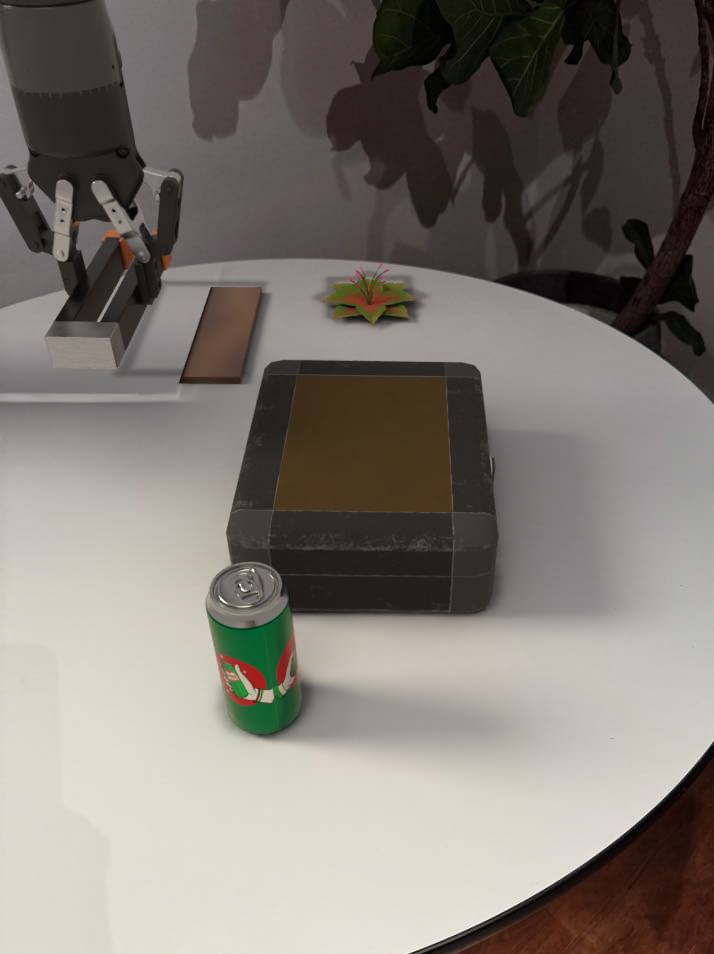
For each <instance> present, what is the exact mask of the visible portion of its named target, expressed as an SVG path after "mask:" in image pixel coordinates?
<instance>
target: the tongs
mask: <svg viewBox="0 0 714 954" xmlns="http://www.w3.org/2000/svg"><path fill="white" fill-rule="evenodd" d="M151 232H152V234H153V235H154V234H157V230H151ZM100 242H101V245H100V246H99V247H98V250H97V251H96V253H95V254H94V256H93V257H92V259H91V260H90V263H89V264H88V265H87V266H86V270H85V272H84V274H83V275H82V277H81V278H80V280H79V282H78V283H77V285H76V286H75V288H74V290H73V291H72V293H71V295H70V296H69V295H68V298H67V300H66V301H65V302H64V303H63V306H62V308H61V309H60V310H59V312H58V314H57V315H56V317H55V319H54V320H53V322H52V324H51V326H50V327H49V329H48V330H47V332H46V333H45V335H44V341H45V344H46V349H47V352H48V355H49V358H50V362H51V366H52V368H53V369H93V370H95V369H97V370H99V369H100V370H118V369H119V366H120V364H121V362H122V360H123V358H124V356H125V354H126V351H127V349H128V348H129V346H130V343H131V342H132V339H133V337H134V335H135V333H136V330H137V328H138V327H139V325H140V322H141V320H142V318H143V315H144V314H145V312H146V310H147V307H148V305H143V303H142V299H141V294H140V289H139V285H138V282H137V278H136V273H135V268H134V262H135V260H136V258H135V256H134V255H133V253H132V251H131V249H130V247H129V246H128V244H127V242H126V240H125V239H124V238H121V237H120V235H119V234H118V232H117V230H116V229H108V230H107V231H106V232H105V234H104V236H103V237H102V239H101V240H100ZM172 257H173V256H172V252H171V253H170V255H168V256H163V255H160V256H157V260H158V266H159V271H160V276H161V277H162V276H163V273H164V271H167V270H168V268H169V265H170V264H171V262H172V259H173V258H172ZM125 271H126V272H125ZM124 273H125V275H124ZM123 275H124V277H123V279H122V280H121V278H122V276H123ZM120 281H121V282H120ZM119 282H120V284H119V286H118V288H117V285H118V283H119ZM116 288H117V289H116ZM115 289H116V291H115ZM114 291H115V293H114ZM113 293H114V295H113ZM112 295H113V297H112ZM111 297H112V298H111ZM110 298H111V301H110ZM109 301H110V303H109V305H108V306H107V304H108V302H109ZM106 306H107V308H106ZM105 308H106V310H105V312H104V314H103V315H102V313H103V311H104V309H105ZM101 315H102V317H101ZM100 317H101V319H100ZM99 319H100V321H98V320H99Z"/></svg>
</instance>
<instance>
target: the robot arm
mask: <svg viewBox="0 0 714 954" xmlns="http://www.w3.org/2000/svg"><path fill="white" fill-rule="evenodd" d="M0 53H1V57H2V60H3V61H2V62H3V64H4V68H5V72H6V75H7V79H8V83H9V87H10V90H11V95H12V99H13V101H14V105H15V109H16V113H17V115H18V120H19V124H20V127H21V132H22V135H23V140H24V142H25V145H26V147H27V149H28V150H27V151H28V161H27V164H26V165H21V166H16V165H14V164H8V165H6V166H5V167H4V168H2V170H1V171H0V200H1V201H2V202H3V204H4V207H5V208H6V210H7V212H8V215H10V218H11V219H12V221H13V223H14V224H15V226H16V228H17V230H18V232H19V234H20V235H21V237H22V239H23V241H24V243H25V245H26V246H27V248H28V250H29V251H30V252H32V253H35V254H40V253H45V254H48V255H50V256H52V257H54V259H55V260H56V262H57V265H58V268H59V272H60V276H61V279H62V280H61V281H62V283H63V288H64V291H65V292H66V294H67V296H68V297H69V296H70V295H71V293H72V291H73V290H74V288H75V286H76V285H77V283H78V282H79V280H80V278H81V277H82V275H83V274H84V272H85V270H86V269H87V267H86V264H85V261H84V256H83V253H82V250H81V249H77V246H78V240H79V231H80V224H81V222H84V223H85V222H88V221H92V220H97V221H100V222H104V223H112V226H113V227H114V228H115V229H114V230H117V232H118V234H119V235H120V237H121V238H124V239H125V240H126V242H127V244H128V246H129V247H130V249H131V251H132V253H133V255H134V258H136V260H135V262H134V268H135V273H136V278H137V282H138V285H139V289H140V294H141V299H142V303H143V305H147V306H153V304H154V302H155V300H156V299H158V297H159V295H160V292H161V290H162V286H163V282H162V276H160V271H159V266H158V260H157V256H160V255H163V256H168V255H170V253H171V254H172V252H173V250H174V246H175V244H176V243H177V241H178V239H179V231H180V221H181V211H182V200H183V190H184V181H185V180H184V179H185V177H184V173H183V172H182V171H181V170H180V169H179V168H176V167H174V168H173V167H172V168H170V169H169V170H168V171H165V170H162V169H158V168H154V167H151V166H147V164H146V162H145V160H144V159H143V157H142V155H140V152H139V150H138V148H137V145H136V138H135V132H134V128H133V123H132V117H131V112H130V107H129V101H128V95H127V90H126V85H125V80H124V74H123V61H122V60H123V59H122V55H121V51H120V49H119V47H118V42H117V37H116V33H115V28H114V25H113V21H112V19H111V15H110V12H109V9H108V5H107V2H106V0H0ZM34 184H35V185H36V187H38V189H40V191H41V192H42V193H43V194H45V195H46V197H47V198H48V199H49V200H50V201H51V202H52V203H53V205H54V214H53V215H54V216H53V223H52V224H53V225H52V229H51V227H50V225H49V223H48V220H47V219H46V217H45V215H44V214H43V211H42V210H41V208H40V206H39V203H38V201H37V200H36V198H35V196H34V193H35V185H34ZM143 184H145V185H146V186H147V187H148V188H149V190H150V196H151V198H152V199H153V200H154V201H155V202H158V203H159V204H158V217H157V230H156V231H157V234H154V235H153V234H152V232H151V231H152V230H151V228H150V226H149V225H148V223H147V221H146V215H145V213H144V211H143V208H142V207H141V205H140V203H139V201H138V199H137V197H136V196H137V195H138V193H139V191H140V189H141V188H142V185H143Z"/></svg>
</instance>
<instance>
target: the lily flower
mask: <svg viewBox="0 0 714 954" xmlns="http://www.w3.org/2000/svg"><path fill="white" fill-rule="evenodd" d="M382 266H383V263H381V264H379V266H378V268H377V270H376V272H375V273H374V275H373V277H372V279H371V278H366V275H365V272H364V270H363V268H362V266H359V269H360V271H361V272H362V273H361V272H360V271H359V270H358V269H355V270H354V271H355V273H354V274H355V277H357V279H358V280H357V281H356V282H355V280H353V279H351V278H350V279H349V281H350V282H343V283H342V282H341V283H331V285H332V287H333V289H334V292H333V293H331V294H330V295H328V296H327V297H326V299H322V300H321V301H320V303H335V304H336V303H337V304H338V305H337V306H335V308H334V310H333V317H332V318H331V320H336V319H342V318H347V317H357V316H363V317H364V318H365V319H366V320H367V321H368V322H369V323H370V325H371V326H374V324H375V322H377V320H378V318H380V317H381V315H382V316H394V317H400V318H406V319H411V317H410V315H409V313H408V310H407V307H405V306H404V305H403V304H402V302H408V301H409V302H410V301H411V302H412V301H419V299H417V298H416V297H414V296H413V295H410V294H409V293H408V292H406V291H404V289H405V284H406V282H387V280H383V281H381V280H379V279H381V278H384V275H383V274H385V273H387V272H389V271H390V270H389V269H385V270H383V272H381V273H380V274H379V275H378V276H376V275H377V274H378V271H379V269H381V267H382ZM375 277H376V278H375Z"/></svg>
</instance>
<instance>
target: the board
mask: <svg viewBox="0 0 714 954" xmlns="http://www.w3.org/2000/svg"><path fill="white" fill-rule="evenodd" d="M262 295H263V287H262V286H210V288H209V290H208V294H207V297H206V299H205V303H204V306H203V309H202V311H201V315H200V318H199V321H198V323H197V327H196V329H195V331H194V336H193V338H192V342H191V344H190V347H189V351H188V354H187V355H186V360H185V363H184V366H183V369H182V372H181V375H180V377H179V381H178V384H241V383H242V379H243V376H244V375H243V374H244V371H245V367H246V363H247V358H248V354H249V351H250V346H251V341H252V337H253V333H254V328H255V325H256V320H257V318H258V317H257V316H258V312H259V307H260V305H261V304H260V303H261V299H262Z"/></svg>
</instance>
